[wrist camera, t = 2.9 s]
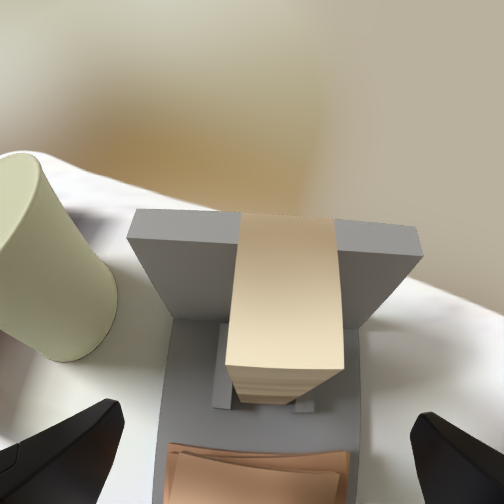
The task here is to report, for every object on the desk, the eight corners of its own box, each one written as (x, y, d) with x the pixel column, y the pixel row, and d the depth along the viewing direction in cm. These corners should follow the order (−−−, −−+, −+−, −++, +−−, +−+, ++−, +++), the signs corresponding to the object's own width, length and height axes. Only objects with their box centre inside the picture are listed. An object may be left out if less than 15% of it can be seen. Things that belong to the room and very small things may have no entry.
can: (11, 324, 19) (-85, 247, 9) (65, 241, 23) (-2, 139, 13) (79, 386, 17) (-50, 323, 7) (140, 281, 21) (70, 157, 11)
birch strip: (283, 405, 16) (344, 369, 6) (240, 402, 16) (224, 364, 6) (286, 342, 18) (333, 218, 8) (245, 339, 18) (241, 212, 8)
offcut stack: (339, 509, 12) (358, 525, 9) (168, 501, 12) (150, 516, 9) (344, 447, 14) (365, 451, 11) (173, 439, 15) (155, 441, 12)
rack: (344, 547, 11) (411, 612, 2) (154, 538, 11) (85, 600, 3) (351, 309, 20) (414, 222, 12) (181, 299, 21) (138, 204, 12)
